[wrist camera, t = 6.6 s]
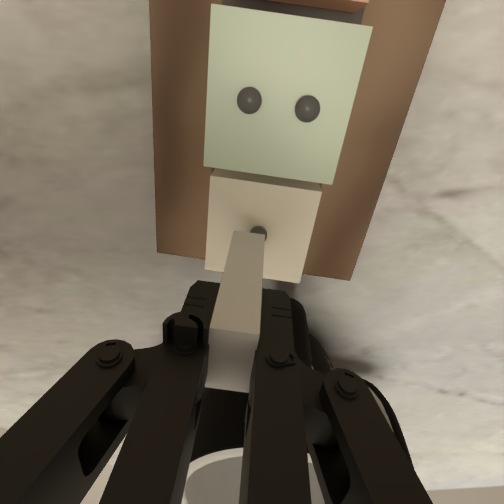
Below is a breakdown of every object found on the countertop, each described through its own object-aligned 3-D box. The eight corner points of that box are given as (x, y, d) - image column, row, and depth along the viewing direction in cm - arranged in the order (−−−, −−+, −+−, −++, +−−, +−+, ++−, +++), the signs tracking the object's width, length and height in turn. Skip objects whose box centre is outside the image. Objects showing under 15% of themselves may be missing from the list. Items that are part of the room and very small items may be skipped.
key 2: (212, 154, 17) (202, 167, 14) (221, 14, 14) (209, 1, 11) (325, 170, 17) (332, 187, 14) (358, 33, 14) (375, 25, 11)
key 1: (211, 250, 22) (203, 272, 19) (218, 164, 19) (209, 177, 16) (297, 263, 22) (299, 286, 19) (317, 178, 19) (322, 193, 16)
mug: (389, 380, 30) (447, 542, 20) (249, 424, 35) (236, 570, 25) (309, 252, 24) (332, 388, 14) (154, 327, 29) (83, 469, 19)
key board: (165, 239, 24) (156, 252, 22) (159, -214, 13) (140, -259, 12) (344, 266, 24) (350, 281, 22) (485, -169, 13) (517, -207, 11)
